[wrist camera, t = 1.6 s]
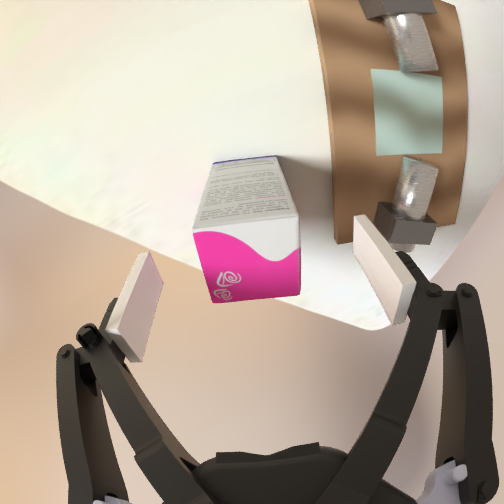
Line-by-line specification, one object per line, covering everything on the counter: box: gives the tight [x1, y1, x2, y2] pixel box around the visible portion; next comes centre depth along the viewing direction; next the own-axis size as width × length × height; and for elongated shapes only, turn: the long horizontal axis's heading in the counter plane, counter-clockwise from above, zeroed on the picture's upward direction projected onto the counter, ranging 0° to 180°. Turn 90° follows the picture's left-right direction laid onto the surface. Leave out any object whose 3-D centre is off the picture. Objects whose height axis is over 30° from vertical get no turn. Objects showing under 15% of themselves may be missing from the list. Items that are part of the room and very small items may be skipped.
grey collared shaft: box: [358, 0, 439, 72], centre depth 13 cm, size 9×5×4 cm, turn 22°
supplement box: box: [192, 156, 301, 303], centre depth 20 cm, size 6×6×12 cm
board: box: [309, 0, 467, 244], centre depth 20 cm, size 26×16×1 cm, turn 10°
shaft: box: [373, 156, 439, 252], centre depth 23 cm, size 9×5×4 cm, turn 178°
